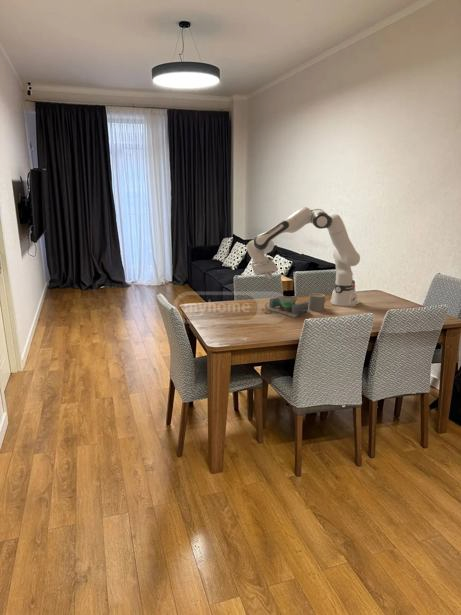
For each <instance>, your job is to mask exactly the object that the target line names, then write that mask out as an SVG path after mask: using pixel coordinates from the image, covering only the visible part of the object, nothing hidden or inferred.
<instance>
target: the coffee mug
mask: <svg viewBox="0 0 461 615" xmlns="http://www.w3.org/2000/svg"><path fill="white" fill-rule="evenodd" d="M308 302H309V305H308V310H310V312H318V313H319V312H324V311H325V303H326V295H325V294H323V293H317V292H316V293H315V292H313V293H310V294H309V301H308Z"/></svg>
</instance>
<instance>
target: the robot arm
mask: <svg viewBox="0 0 461 615" xmlns="http://www.w3.org/2000/svg"><path fill="white" fill-rule="evenodd" d="M328 214H329V213H327V212H326V211H325V210H323V209H321V208H315V209H310V208H309V207H306V206H303V207H301V208H299V209H298V210H296V211H295V212H293V213H292V214H291V215H289V216H288V217H286V218H285V219H283V220H282V221H280V222H279V223H277V224H276V225H274V226H272V227H271V228H270V229H268V230H267V231H265V232H263V233H259V234H257V235H256V236H255V237H254V239H252V240H249V242H248V243H247V244H246V250H247V253H248V255H249V256H250V258H251V259H252V263H251V267H252V270H253V273H254V275H255V276H265V277H266V278H268V279H267V280H272V279H273V278H274V277H273V274H276V273H277V272H278V271H279V269H278V267H277V266H278V265H276V263H275V262H274V259H273V258H272V257H269V256H266V255H267V254H269V253H271V252H272V251H273V249H275V243H274V242H273V240H274V239H275V238H277V237H278V236H279V235H281V234H283V233H291V234H294V233H296V232H298V231H299V230H301V229H302V228H303V227H305V226H306V225H307V224H312V225H313V226H314V227H315V228H316V229H327V231H328V234H329V237H330V239H331V243H332V245H333V246H334V248H335V249H334V250H333V253H332V258H333V259H334V264H335V283H334V287H333V288H334V289H333V290H332V293H331V294H332V295H331V298H330V300H329V302H330V303H331V304H332V305H333V306H334V305H335V306H339V307H355V306H357V305H358V304H360V303H361V301H360V300H358V294H357V292H355V291H354V290H353V289H354V288H355V287H356V285H355V284H353V274H354V273H353V271H352V268H351V267H356V266H357V265H358V264H360V262H361V261H360V260H361V255H360V254H359V253H358V252H357V250H356V248H355V247H354V245H353V243H352V241H351V239H350V237H349V235H348V232H347V229H346V227H345V226H346V225H345V224H344V221H343V220H342V217H341V216H340V215H339V214H331V215H328ZM356 304H357V305H356Z"/></svg>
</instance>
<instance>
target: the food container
mask: <svg viewBox="0 0 461 615" xmlns="http://www.w3.org/2000/svg"><path fill="white" fill-rule="evenodd" d="M281 296H282V295H279V296H278V297H279V298H278V299H279V302H280V306H279V309H282V310H286V311H289V312H292V305H293V304H296V302H297V300H298V297H297V296H286V297H281Z"/></svg>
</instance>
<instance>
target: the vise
mask: <svg viewBox="0 0 461 615" xmlns="http://www.w3.org/2000/svg"><path fill="white" fill-rule="evenodd" d="M266 309H267V310H270V311H272V312H277V313H279V314H283V315H285V316H289V317H292V318H297V317H298V316H301V315H304V314H310V313H311V310H309V301H306V300H305V301H302V302H297V303H295V304H293V305H292V312H289V311H286V310H282V309H280V307H279V308H278V307H273V308H272V307H270V305H269V306H267V308H266Z"/></svg>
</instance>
